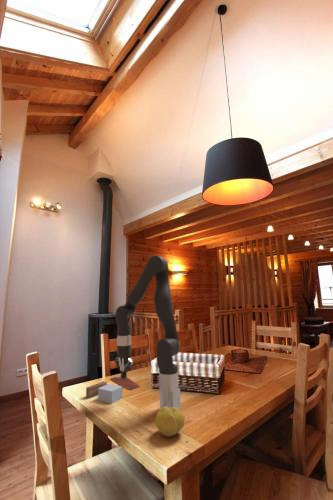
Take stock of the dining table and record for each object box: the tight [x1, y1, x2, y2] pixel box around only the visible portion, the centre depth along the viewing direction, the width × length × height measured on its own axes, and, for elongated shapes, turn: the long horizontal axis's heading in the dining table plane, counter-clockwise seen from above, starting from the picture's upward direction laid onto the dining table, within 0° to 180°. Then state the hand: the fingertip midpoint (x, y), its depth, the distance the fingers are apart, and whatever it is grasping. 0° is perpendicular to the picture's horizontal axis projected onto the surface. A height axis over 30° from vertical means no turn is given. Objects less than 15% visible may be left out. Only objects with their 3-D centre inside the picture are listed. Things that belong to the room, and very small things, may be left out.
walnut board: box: [85, 381, 108, 400], centre depth 145 cm, size 3×12×5 cm, turn 143°
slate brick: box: [97, 383, 123, 405], centre depth 138 cm, size 10×8×6 cm
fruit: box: [154, 406, 185, 438], centre depth 103 cm, size 11×12×10 cm
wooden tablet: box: [110, 375, 141, 391], centre depth 162 cm, size 27×10×2 cm, turn 35°
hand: (123, 378), depth 134 cm, fingers closed
